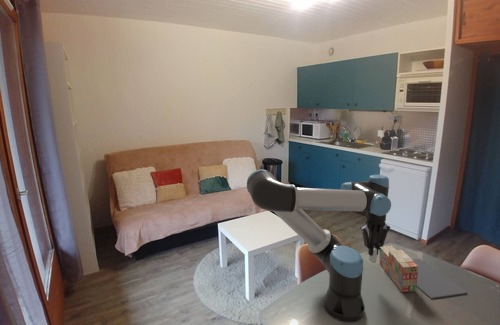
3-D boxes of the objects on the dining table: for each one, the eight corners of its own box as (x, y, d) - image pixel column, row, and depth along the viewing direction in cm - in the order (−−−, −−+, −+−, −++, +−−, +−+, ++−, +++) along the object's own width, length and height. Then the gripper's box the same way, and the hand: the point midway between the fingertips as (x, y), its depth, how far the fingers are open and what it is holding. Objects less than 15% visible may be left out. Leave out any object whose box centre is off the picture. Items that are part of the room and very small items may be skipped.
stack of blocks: (379, 263, 135) (379, 240, 132) (391, 262, 135) (392, 239, 132) (401, 292, 114) (403, 266, 111) (417, 291, 114) (418, 265, 111)
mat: (430, 299, 110) (431, 297, 110) (388, 263, 135) (388, 262, 135) (466, 293, 113) (467, 292, 113) (419, 259, 138) (419, 258, 138)
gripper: (367, 216, 110) (363, 267, 115) (396, 213, 113) (391, 264, 117) (357, 209, 118) (354, 258, 123) (384, 206, 120) (380, 255, 125)
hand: (372, 261), depth 120 cm, fingers closed
